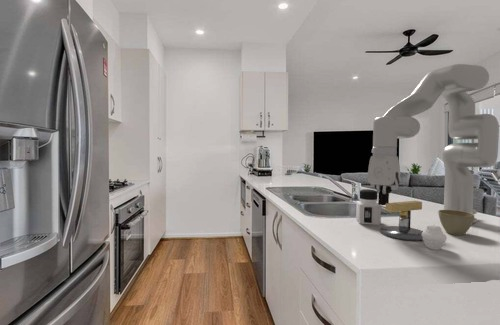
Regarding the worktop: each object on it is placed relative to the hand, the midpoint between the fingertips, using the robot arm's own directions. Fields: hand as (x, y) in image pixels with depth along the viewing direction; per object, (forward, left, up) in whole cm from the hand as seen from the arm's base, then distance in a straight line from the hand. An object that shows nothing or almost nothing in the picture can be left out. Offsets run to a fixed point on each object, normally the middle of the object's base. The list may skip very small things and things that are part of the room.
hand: (383, 204), depth 97 cm
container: (-5, -11, -10) cm, 16 cm away
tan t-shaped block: (-3, +6, -4) cm, 7 cm away
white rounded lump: (+1, +18, -10) cm, 21 cm away
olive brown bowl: (-21, +12, -10) cm, 26 cm away
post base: (-3, +6, -9) cm, 11 cm away
